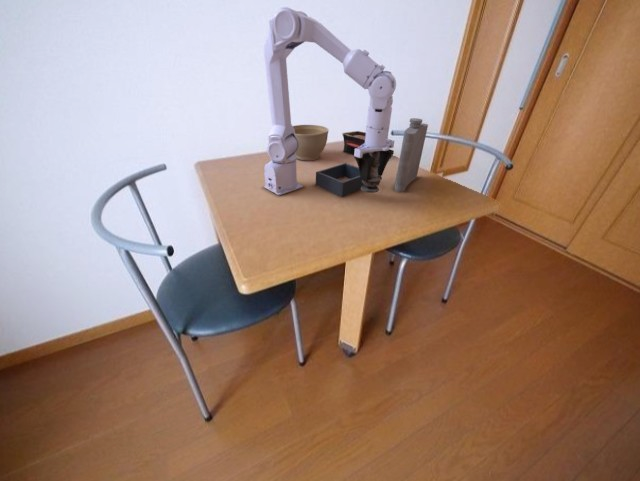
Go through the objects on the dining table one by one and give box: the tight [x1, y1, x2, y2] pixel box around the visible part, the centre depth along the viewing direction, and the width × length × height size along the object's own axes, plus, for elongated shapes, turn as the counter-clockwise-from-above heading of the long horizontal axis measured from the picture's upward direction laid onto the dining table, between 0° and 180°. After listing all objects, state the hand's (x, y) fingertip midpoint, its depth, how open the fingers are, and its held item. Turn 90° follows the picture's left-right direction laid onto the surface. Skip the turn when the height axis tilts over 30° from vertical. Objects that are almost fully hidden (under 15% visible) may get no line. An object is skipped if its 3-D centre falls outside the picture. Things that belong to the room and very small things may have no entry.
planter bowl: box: [292, 124, 329, 161], centre depth 112 cm, size 16×16×11 cm
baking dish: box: [341, 130, 366, 155], centre depth 120 cm, size 14×18×10 cm
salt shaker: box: [360, 151, 383, 194], centre depth 79 cm, size 6×6×12 cm
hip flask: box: [393, 117, 429, 193], centre depth 89 cm, size 16×4×20 cm, turn 148°
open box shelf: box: [315, 162, 364, 198], centre depth 91 cm, size 14×12×4 cm
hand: (371, 177), depth 80 cm, fingers closed on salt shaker, 6 cm apart
